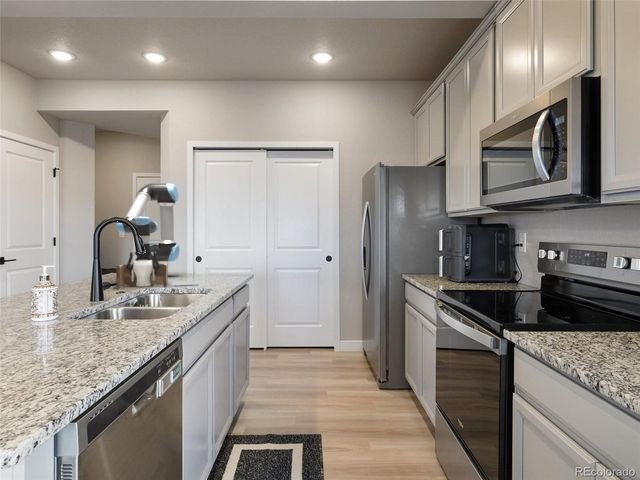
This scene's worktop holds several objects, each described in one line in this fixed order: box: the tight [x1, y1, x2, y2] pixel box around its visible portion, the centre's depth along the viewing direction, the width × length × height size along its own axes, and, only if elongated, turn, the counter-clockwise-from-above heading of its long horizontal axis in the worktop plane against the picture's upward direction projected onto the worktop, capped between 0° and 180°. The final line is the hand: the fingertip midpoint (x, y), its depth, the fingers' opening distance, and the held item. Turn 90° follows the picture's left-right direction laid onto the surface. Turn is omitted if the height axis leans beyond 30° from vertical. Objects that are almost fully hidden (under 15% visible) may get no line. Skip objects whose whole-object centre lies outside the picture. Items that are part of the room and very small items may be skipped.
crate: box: [115, 263, 169, 290], centre depth 220 cm, size 17×26×13 cm, turn 109°
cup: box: [132, 259, 153, 288], centre depth 219 cm, size 11×11×15 cm
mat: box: [170, 280, 199, 287], centre depth 226 cm, size 15×15×1 cm
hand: (143, 280), depth 220 cm, fingers closed on cup, 10 cm apart
